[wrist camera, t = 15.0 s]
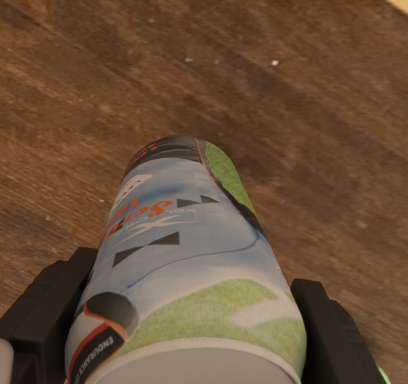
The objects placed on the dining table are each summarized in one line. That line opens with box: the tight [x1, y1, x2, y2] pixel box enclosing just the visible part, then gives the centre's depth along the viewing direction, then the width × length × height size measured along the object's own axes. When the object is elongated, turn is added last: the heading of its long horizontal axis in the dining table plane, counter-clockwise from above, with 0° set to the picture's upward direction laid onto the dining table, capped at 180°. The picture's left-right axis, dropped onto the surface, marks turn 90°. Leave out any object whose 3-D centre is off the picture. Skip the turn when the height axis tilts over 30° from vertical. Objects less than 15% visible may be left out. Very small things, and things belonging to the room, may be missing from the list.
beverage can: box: [65, 136, 307, 384], centre depth 12 cm, size 6×7×12 cm
